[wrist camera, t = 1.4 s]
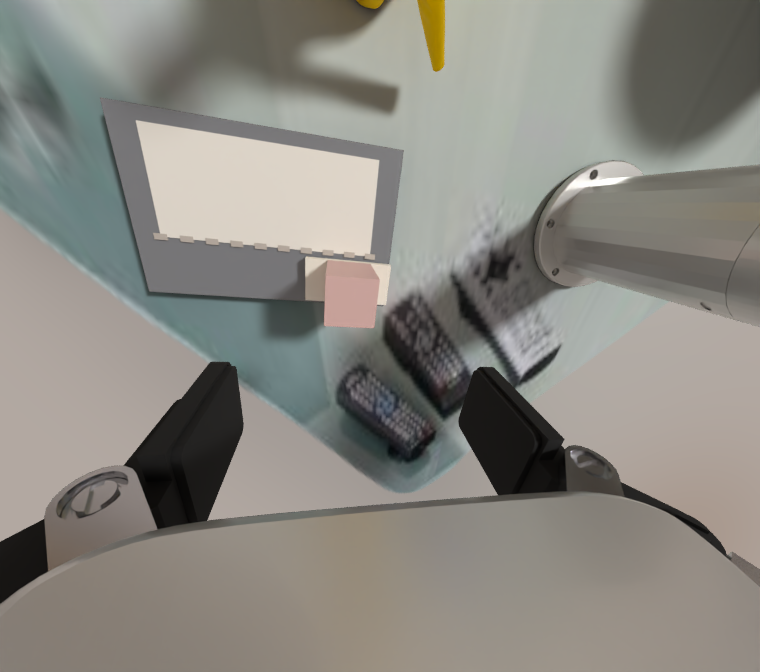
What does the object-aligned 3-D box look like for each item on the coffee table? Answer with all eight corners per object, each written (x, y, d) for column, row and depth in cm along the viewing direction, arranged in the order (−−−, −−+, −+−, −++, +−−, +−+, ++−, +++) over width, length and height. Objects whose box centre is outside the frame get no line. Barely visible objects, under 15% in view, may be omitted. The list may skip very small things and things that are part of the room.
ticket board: (399, 153, 24) (404, 150, 23) (381, 301, 30) (383, 306, 29) (115, 104, 20) (98, 96, 19) (158, 286, 26) (148, 292, 24)
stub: (389, 264, 27) (405, 281, 20) (384, 302, 28) (398, 329, 22) (306, 256, 25) (296, 273, 19) (306, 297, 27) (297, 324, 21)
